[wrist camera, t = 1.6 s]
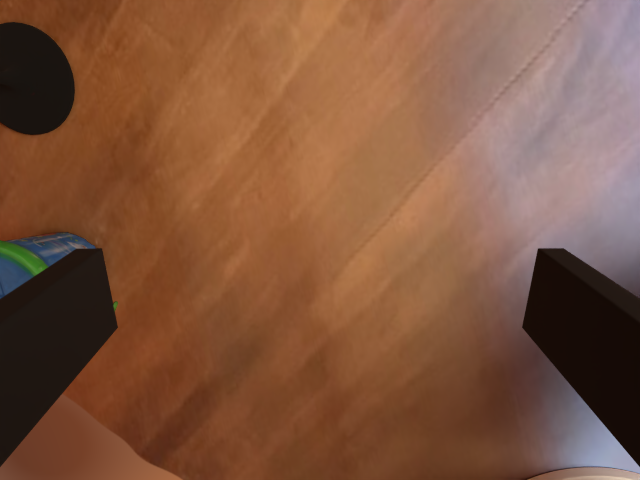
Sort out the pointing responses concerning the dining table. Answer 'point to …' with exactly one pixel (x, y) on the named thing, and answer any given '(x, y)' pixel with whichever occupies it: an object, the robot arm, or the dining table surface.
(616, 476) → the plate stack
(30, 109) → the wine glass
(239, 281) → the dining table surface
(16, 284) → the snack cup
